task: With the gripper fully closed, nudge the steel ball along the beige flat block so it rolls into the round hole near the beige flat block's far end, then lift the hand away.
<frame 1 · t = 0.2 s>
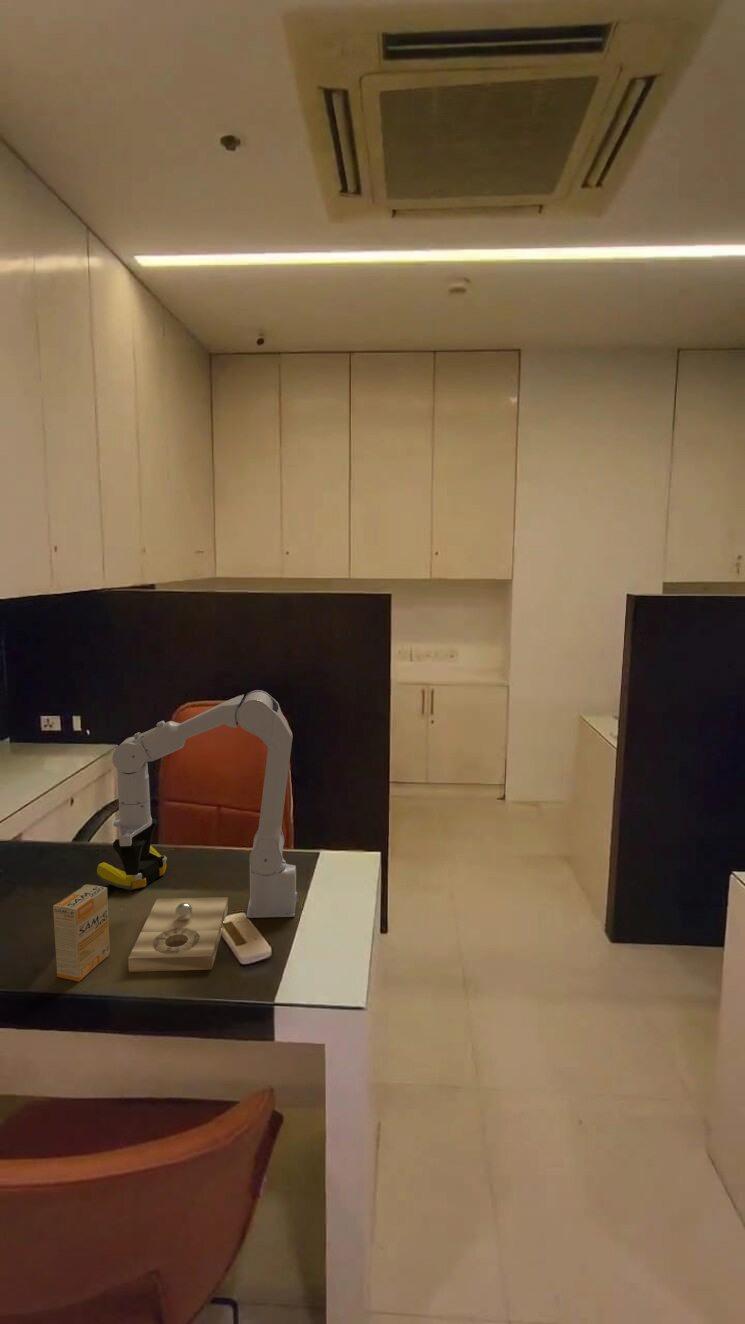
hand: (137, 865, 133), 10 cm above the table, tool pointing down, fingers open, 7 cm apart
supplement box: (84, 967, 117), on the table
gaming controller: (136, 879, 148), on the table
ball: (184, 911, 127), point 4 cm above the table, touching beige flat block
beige flat block: (182, 937, 126), on the table
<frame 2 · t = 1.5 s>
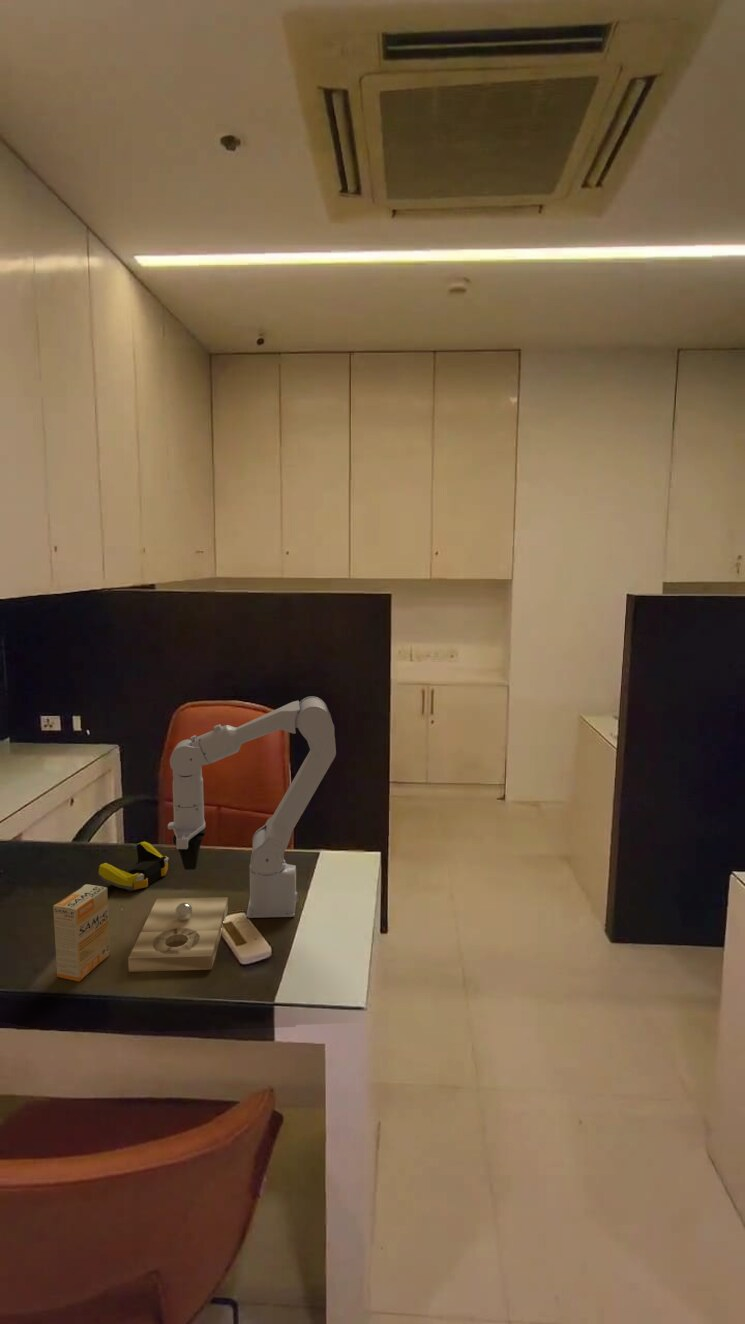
hand: (190, 868, 133), 9 cm above the table, tool pointing down, fingers closed
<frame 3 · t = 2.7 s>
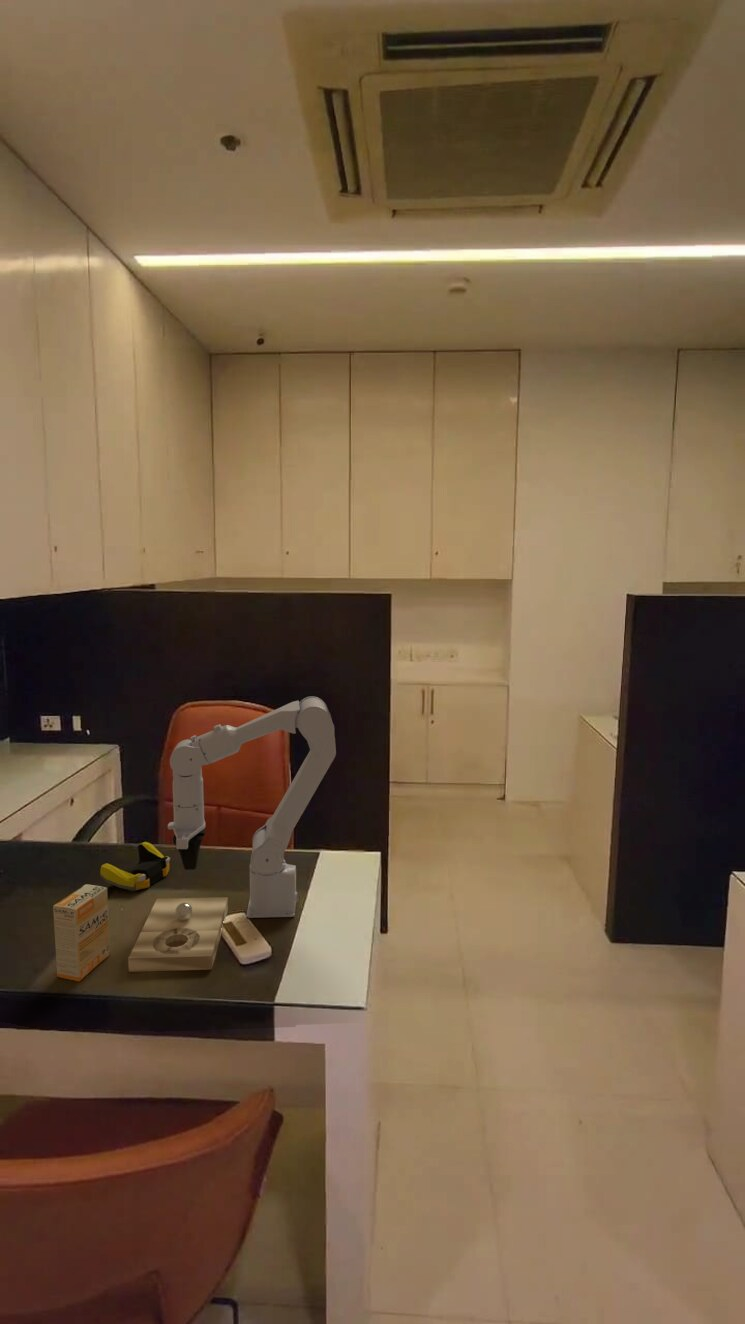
hand: (190, 868, 133), 9 cm above the table, tool pointing down, fingers closed
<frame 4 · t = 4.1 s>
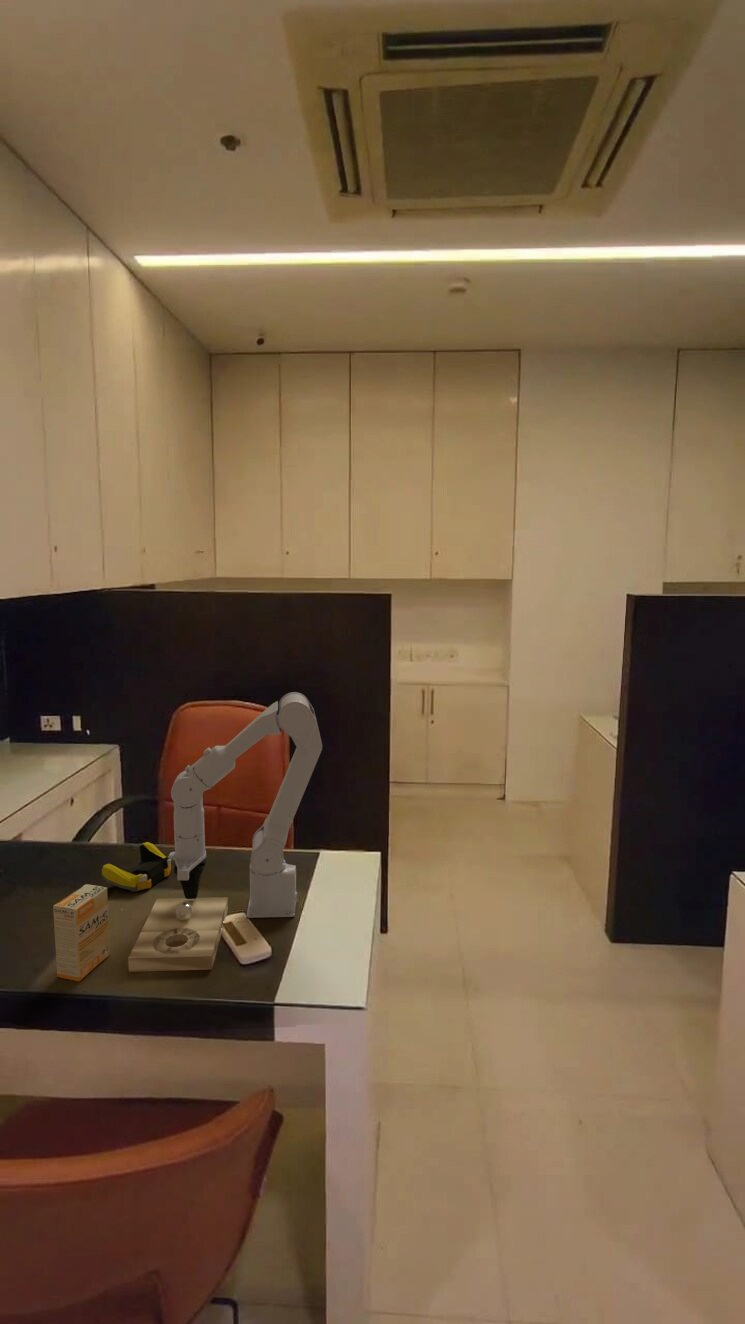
hand: (191, 897, 134), 3 cm above the table, tool pointing down, fingers closed
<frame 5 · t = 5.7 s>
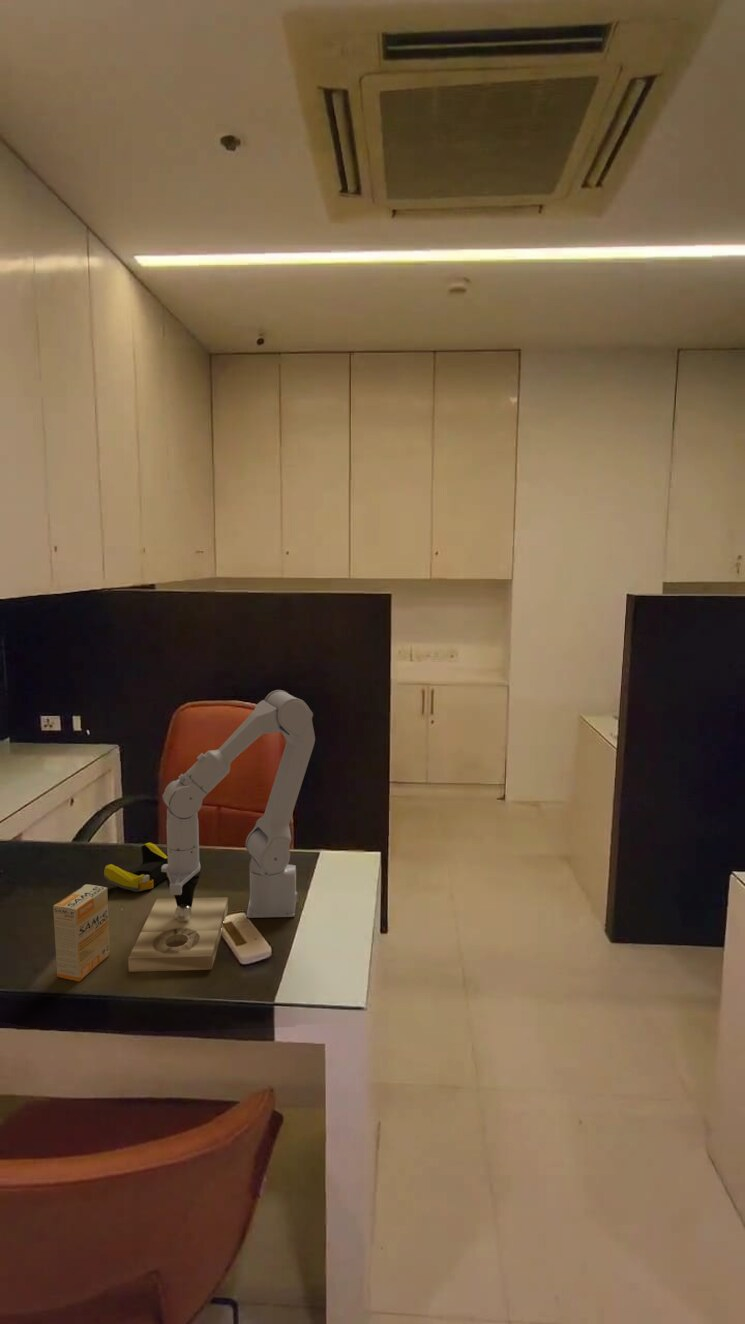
hand: (184, 911, 129), 3 cm above the table, tool pointing down, fingers closed, pressing on ball
ball: (183, 912, 127), point 4 cm above the table, tilted 14°, touching beige flat block, gripper
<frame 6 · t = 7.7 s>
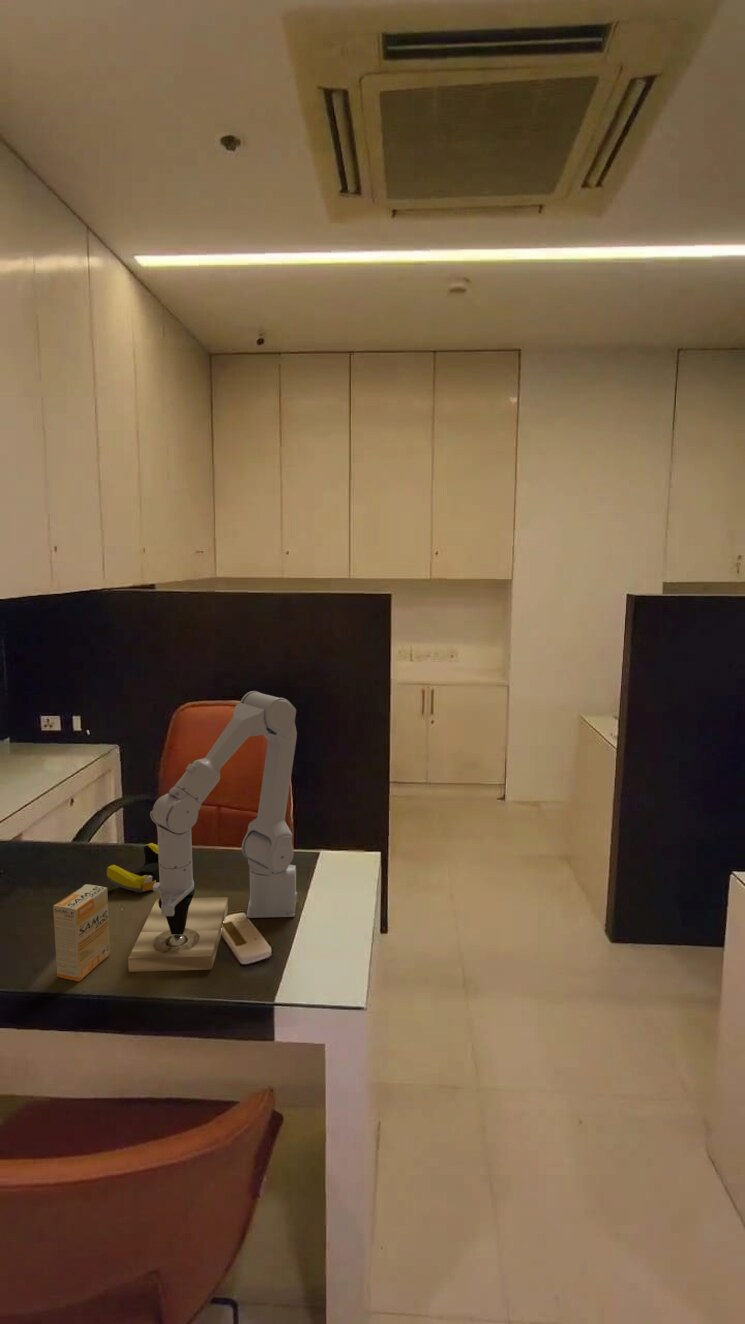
hand: (178, 932, 122), 3 cm above the table, tool pointing down, fingers closed
ball: (177, 944, 121), point 2 cm above the table, tilted 98°
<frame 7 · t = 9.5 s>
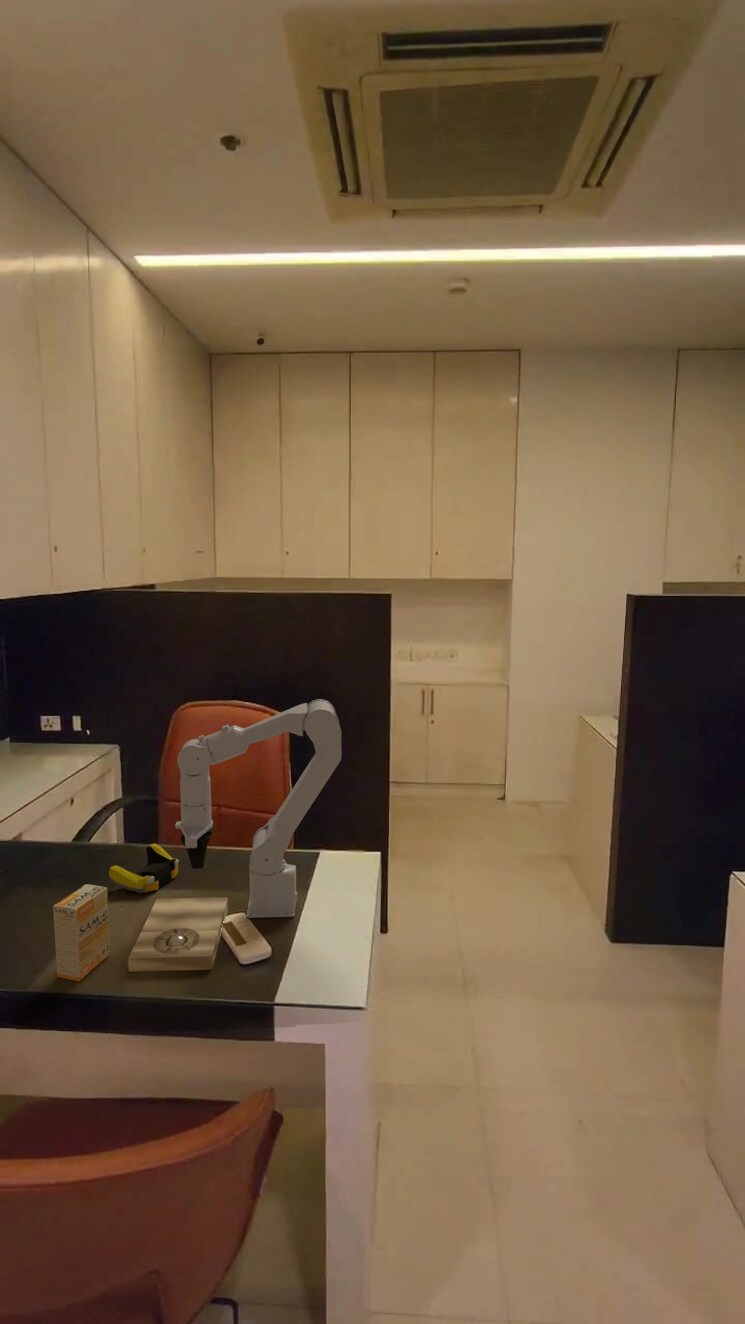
hand: (198, 866, 134), 9 cm above the table, tool pointing down, fingers closed
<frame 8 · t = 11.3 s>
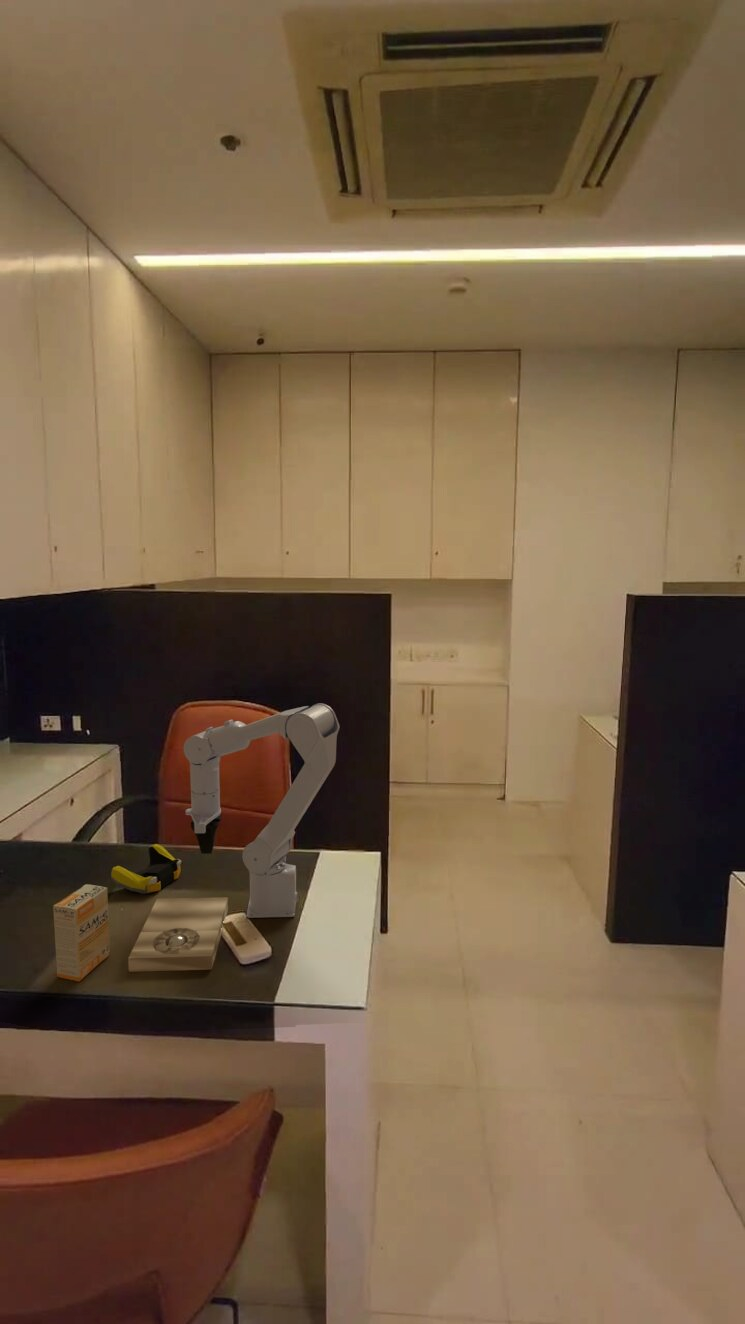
hand: (206, 852, 140), 9 cm above the table, tool pointing down, fingers closed
at the end: ball 0.2 cm from the target spot on the beige flat block, point 1.6 cm above the beige flat block's base; the gripper is holding nothing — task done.
